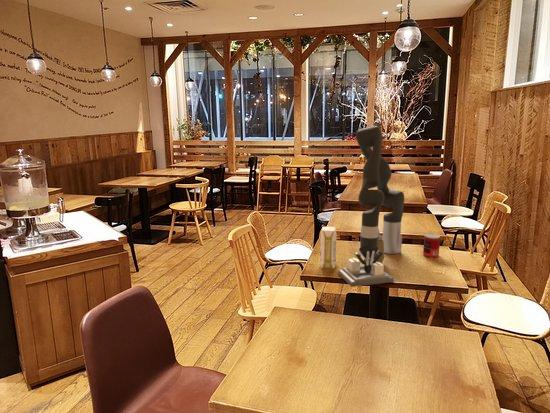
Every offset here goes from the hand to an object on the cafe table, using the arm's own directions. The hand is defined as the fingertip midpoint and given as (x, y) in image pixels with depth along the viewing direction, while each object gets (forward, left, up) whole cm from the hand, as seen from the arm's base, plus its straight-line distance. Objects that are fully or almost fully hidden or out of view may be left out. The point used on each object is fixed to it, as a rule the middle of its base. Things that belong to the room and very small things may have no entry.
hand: (367, 272), depth 184 cm
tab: (-5, 0, -1) cm, 5 cm away
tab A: (+3, -7, -2) cm, 8 cm away
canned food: (-47, -21, -4) cm, 51 cm away
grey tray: (-1, -3, -4) cm, 5 cm away
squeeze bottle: (-14, -18, -4) cm, 23 cm away
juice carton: (+10, -21, -4) cm, 24 cm away
